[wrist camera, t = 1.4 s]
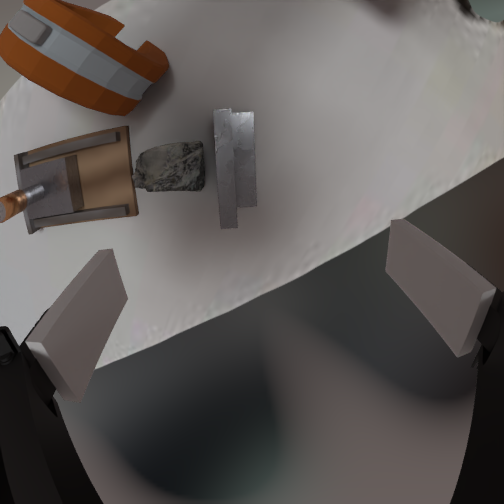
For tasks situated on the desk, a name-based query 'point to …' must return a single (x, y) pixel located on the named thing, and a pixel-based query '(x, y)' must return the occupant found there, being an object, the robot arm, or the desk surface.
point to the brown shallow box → (90, 176)
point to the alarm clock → (80, 56)
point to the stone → (171, 168)
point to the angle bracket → (234, 163)
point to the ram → (45, 190)
